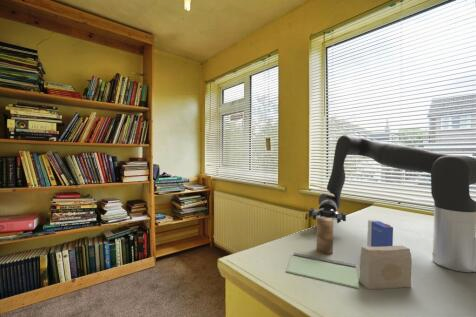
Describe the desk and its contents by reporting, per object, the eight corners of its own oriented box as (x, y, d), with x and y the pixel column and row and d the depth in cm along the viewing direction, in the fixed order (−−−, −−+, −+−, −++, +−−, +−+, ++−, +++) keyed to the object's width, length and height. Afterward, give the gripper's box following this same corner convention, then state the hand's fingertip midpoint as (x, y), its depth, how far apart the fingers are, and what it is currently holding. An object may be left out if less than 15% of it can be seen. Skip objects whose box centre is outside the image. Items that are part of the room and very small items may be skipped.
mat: (356, 269, 64) (356, 268, 64) (358, 288, 55) (358, 287, 55) (292, 257, 72) (292, 255, 72) (286, 272, 63) (286, 270, 63)
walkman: (392, 265, 67) (393, 226, 67) (383, 266, 67) (384, 226, 67) (374, 253, 75) (375, 218, 75) (366, 254, 75) (367, 218, 74)
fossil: (399, 279, 60) (400, 244, 60) (411, 287, 56) (412, 249, 56) (358, 282, 58) (359, 245, 58) (367, 290, 55) (368, 251, 55)
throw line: (355, 265, 67) (355, 264, 67) (355, 267, 66) (355, 266, 66) (294, 253, 74) (294, 252, 74) (293, 255, 73) (293, 254, 73)
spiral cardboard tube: (332, 249, 78) (333, 218, 77) (332, 256, 73) (333, 222, 73) (317, 247, 80) (317, 216, 80) (315, 252, 75) (316, 220, 75)
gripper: (311, 199, 105) (307, 207, 90) (345, 202, 99) (346, 211, 84) (311, 215, 105) (306, 225, 91) (344, 219, 100) (346, 231, 85)
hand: (326, 219), depth 88 cm, fingers open, 8 cm apart
